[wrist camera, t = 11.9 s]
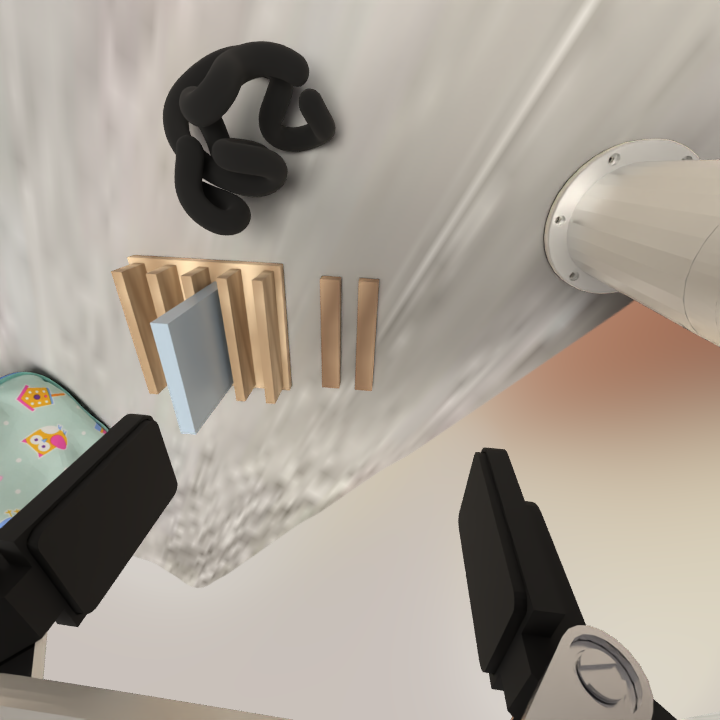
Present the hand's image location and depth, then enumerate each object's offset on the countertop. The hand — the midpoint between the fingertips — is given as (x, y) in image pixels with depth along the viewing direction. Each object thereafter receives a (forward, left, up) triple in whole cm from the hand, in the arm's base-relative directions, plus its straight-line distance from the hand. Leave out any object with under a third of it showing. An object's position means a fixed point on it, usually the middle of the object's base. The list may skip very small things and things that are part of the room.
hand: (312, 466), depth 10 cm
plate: (+15, +9, -27) cm, 32 cm away
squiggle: (+10, -10, -28) cm, 31 cm away
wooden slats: (+2, +9, -28) cm, 29 cm away
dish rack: (+17, +9, -28) cm, 34 cm away
